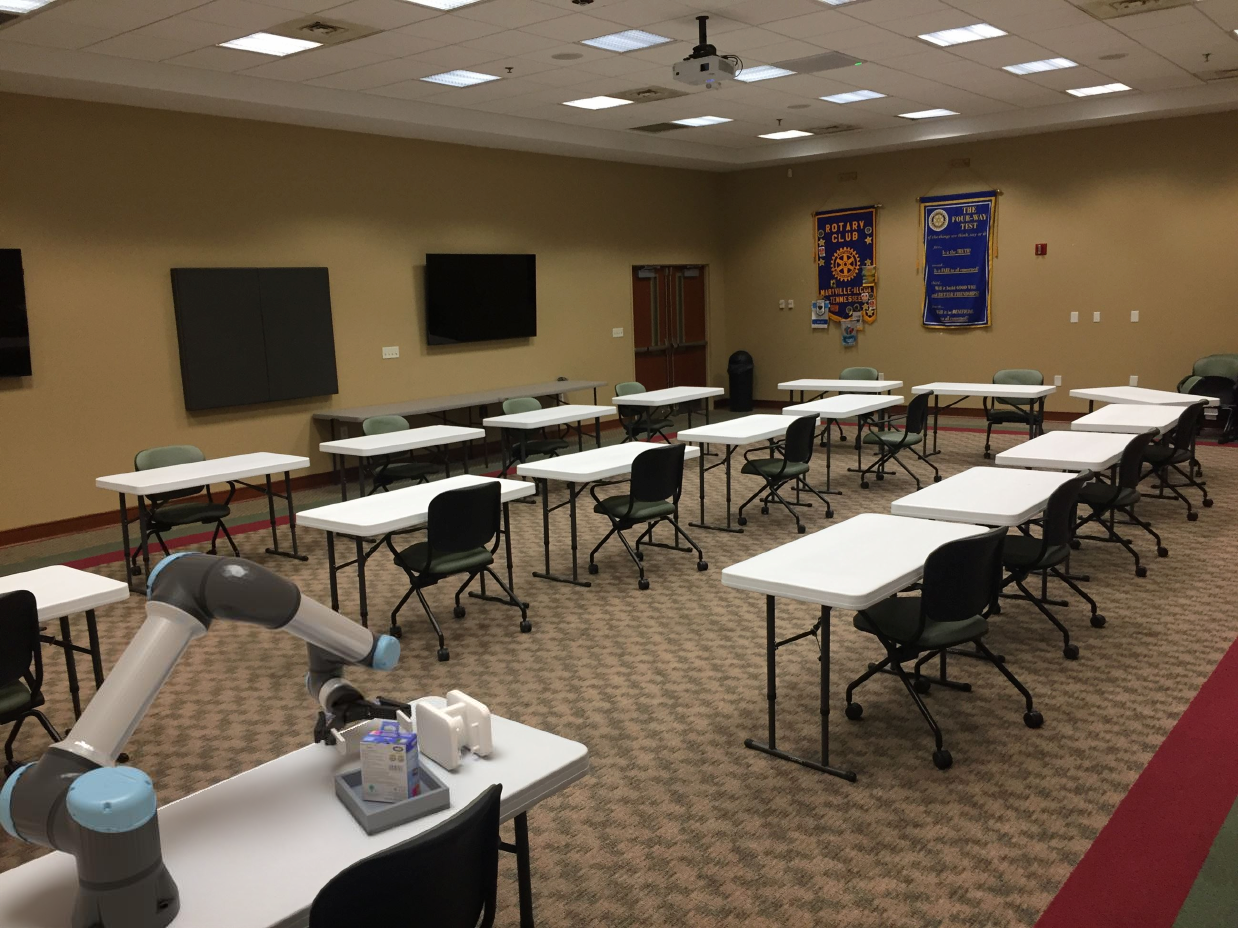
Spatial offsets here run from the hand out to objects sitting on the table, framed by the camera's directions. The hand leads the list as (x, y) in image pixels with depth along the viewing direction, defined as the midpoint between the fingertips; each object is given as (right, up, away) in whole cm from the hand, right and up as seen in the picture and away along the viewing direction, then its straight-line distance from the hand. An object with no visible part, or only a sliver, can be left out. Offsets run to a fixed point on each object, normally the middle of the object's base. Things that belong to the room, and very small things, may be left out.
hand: (378, 737), depth 185 cm
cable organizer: (+13, -8, +15) cm, 21 cm away
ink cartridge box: (+4, -10, -3) cm, 12 cm away
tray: (+4, -11, -4) cm, 12 cm away
